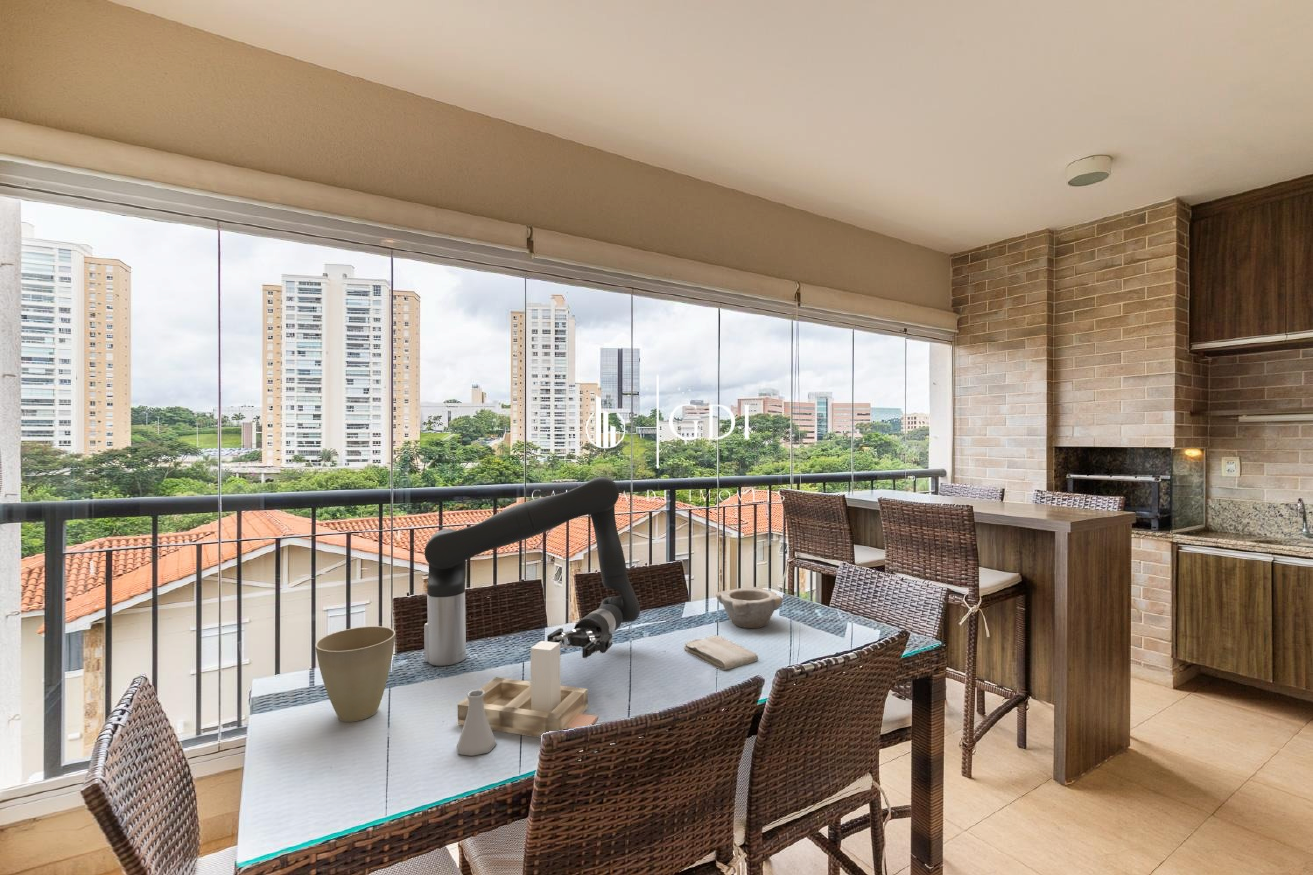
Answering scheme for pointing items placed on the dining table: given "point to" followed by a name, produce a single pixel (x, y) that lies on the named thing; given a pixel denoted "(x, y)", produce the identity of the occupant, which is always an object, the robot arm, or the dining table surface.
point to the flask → (476, 728)
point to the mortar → (749, 605)
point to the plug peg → (545, 676)
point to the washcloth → (720, 652)
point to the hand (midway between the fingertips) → (565, 651)
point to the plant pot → (356, 669)
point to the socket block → (529, 709)
